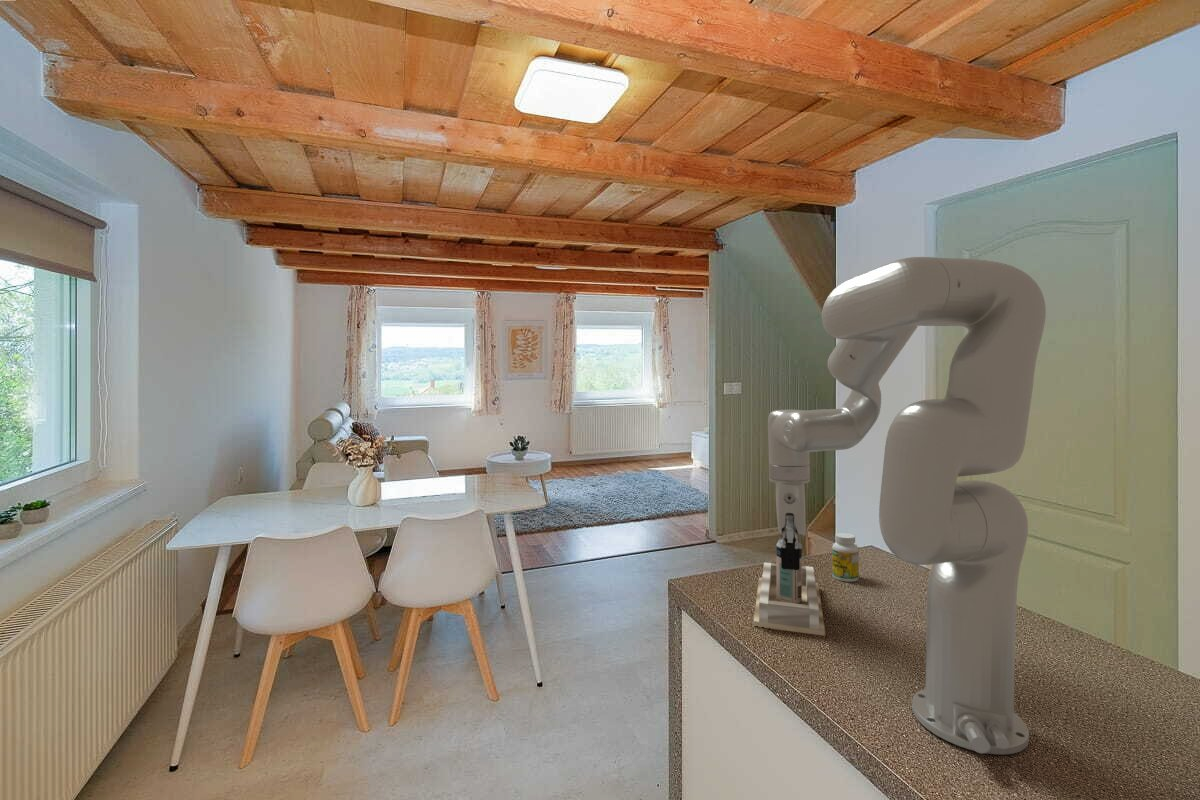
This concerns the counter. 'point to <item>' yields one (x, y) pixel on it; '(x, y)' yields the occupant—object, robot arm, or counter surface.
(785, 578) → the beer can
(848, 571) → the supplement bottle
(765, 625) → the open rectangular box
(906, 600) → the counter surface
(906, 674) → the counter surface
